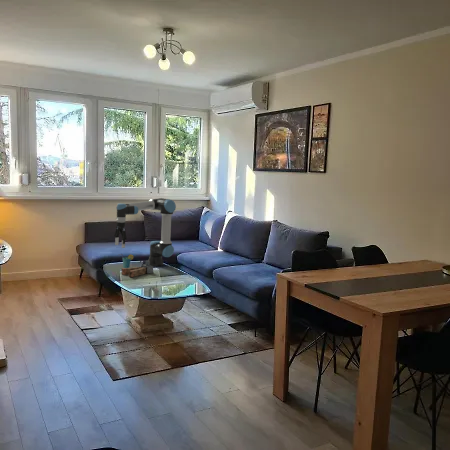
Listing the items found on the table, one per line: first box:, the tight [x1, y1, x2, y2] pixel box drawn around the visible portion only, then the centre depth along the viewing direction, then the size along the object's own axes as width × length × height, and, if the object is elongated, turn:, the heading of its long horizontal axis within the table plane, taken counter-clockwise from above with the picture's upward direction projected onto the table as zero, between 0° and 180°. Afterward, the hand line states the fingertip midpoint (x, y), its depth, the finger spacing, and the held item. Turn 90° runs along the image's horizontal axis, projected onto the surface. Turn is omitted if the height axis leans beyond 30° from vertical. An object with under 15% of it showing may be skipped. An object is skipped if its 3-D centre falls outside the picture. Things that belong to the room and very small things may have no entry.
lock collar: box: [141, 260, 154, 274], centre depth 393 cm, size 6×10×10 cm, turn 39°
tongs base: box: [120, 266, 148, 276], centre depth 387 cm, size 24×6×5 cm, turn 129°
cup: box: [117, 253, 134, 268], centre depth 398 cm, size 14×8×15 cm, turn 115°
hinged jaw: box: [128, 268, 147, 278], centre depth 381 cm, size 18×3×5 cm, turn 148°
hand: (120, 246), depth 377 cm, fingers open, 13 cm apart
